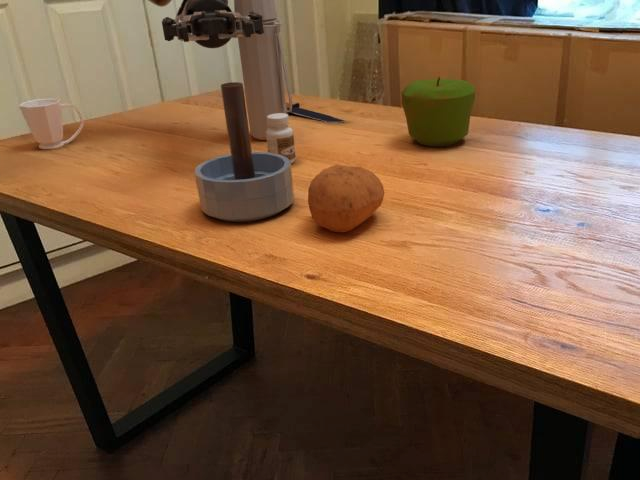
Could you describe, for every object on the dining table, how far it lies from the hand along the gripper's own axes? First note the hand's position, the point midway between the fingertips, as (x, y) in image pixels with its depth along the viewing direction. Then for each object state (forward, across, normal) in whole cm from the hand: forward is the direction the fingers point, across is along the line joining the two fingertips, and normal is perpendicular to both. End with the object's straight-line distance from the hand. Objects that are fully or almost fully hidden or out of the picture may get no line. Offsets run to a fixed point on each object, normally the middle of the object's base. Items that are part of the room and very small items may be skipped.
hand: (217, 31), depth 91 cm
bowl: (+11, 0, +22) cm, 25 cm away
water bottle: (-24, +9, +22) cm, 34 cm away
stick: (+11, 0, +21) cm, 24 cm away
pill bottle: (-8, +8, +22) cm, 25 cm away
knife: (-38, +17, +22) cm, 47 cm away
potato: (+21, +12, +22) cm, 33 cm away
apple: (-8, +36, +22) cm, 43 cm away
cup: (-36, -29, +22) cm, 51 cm away
